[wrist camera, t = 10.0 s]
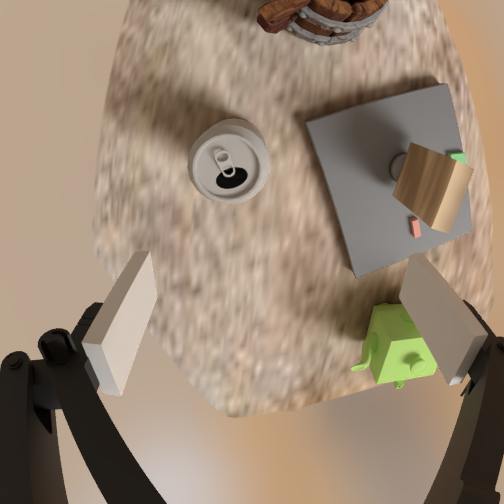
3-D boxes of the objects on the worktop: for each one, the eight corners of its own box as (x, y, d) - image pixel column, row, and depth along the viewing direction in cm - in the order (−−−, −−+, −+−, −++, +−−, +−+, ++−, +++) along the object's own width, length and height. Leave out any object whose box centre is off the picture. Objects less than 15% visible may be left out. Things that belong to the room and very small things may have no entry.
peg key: (381, 189, 38) (425, 226, 27) (398, 137, 35) (450, 157, 24) (445, 212, 39) (494, 250, 29) (462, 166, 36) (517, 194, 25)
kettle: (335, 325, 50) (352, 376, 40) (403, 266, 46) (436, 310, 36) (383, 362, 55) (401, 408, 45) (442, 314, 50) (470, 356, 40)
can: (215, 186, 40) (203, 221, 29) (193, 130, 37) (170, 145, 26) (273, 166, 39) (282, 194, 28) (252, 109, 36) (254, 113, 25)
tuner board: (303, 121, 36) (308, 123, 34) (439, 83, 33) (451, 83, 31) (352, 270, 46) (357, 281, 43) (465, 226, 42) (474, 233, 40)
